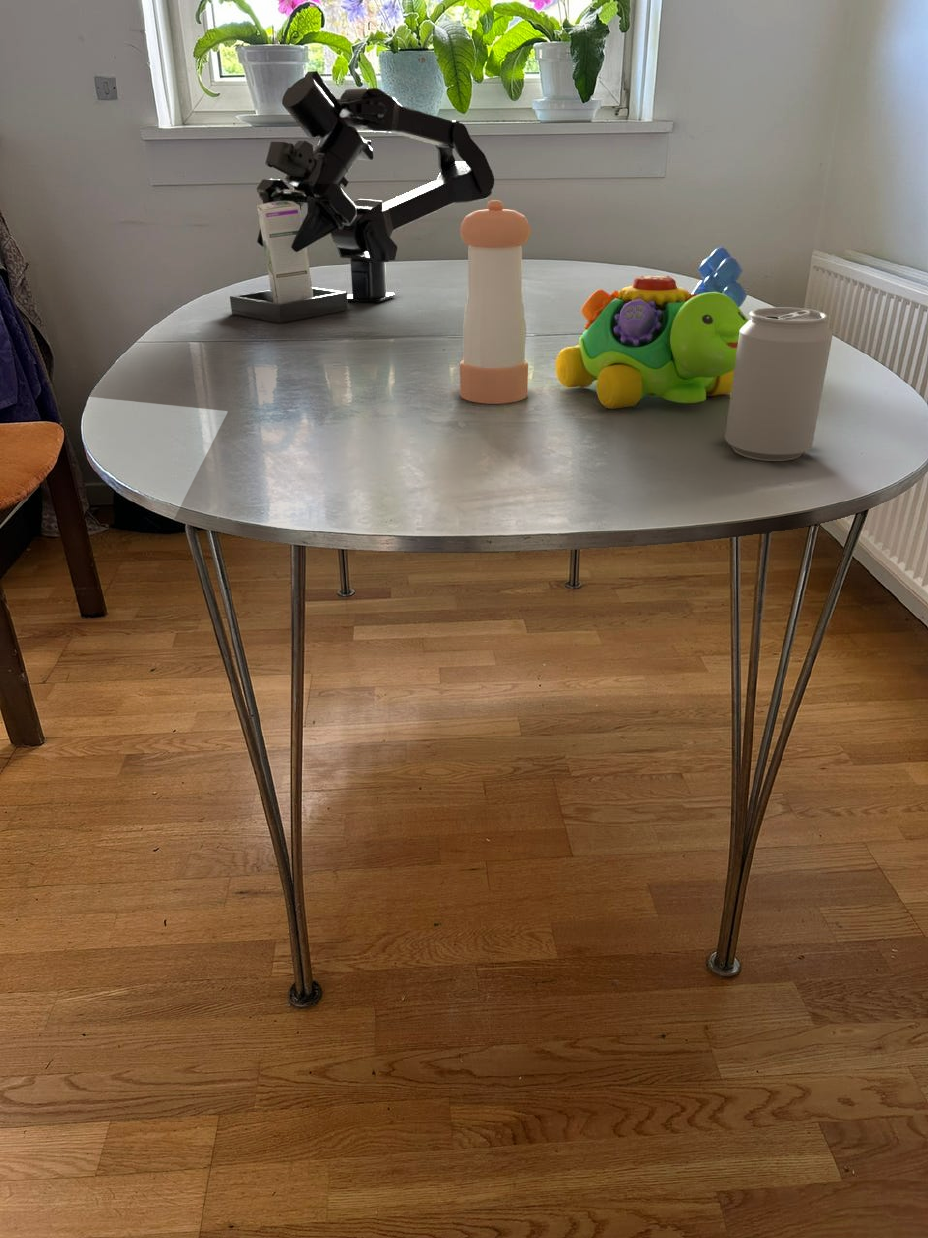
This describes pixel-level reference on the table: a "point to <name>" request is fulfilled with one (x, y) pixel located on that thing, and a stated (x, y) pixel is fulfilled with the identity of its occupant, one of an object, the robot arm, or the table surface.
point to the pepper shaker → (494, 307)
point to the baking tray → (288, 305)
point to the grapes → (721, 276)
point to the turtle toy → (654, 344)
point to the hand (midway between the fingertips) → (276, 246)
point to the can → (778, 383)
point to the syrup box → (284, 251)
